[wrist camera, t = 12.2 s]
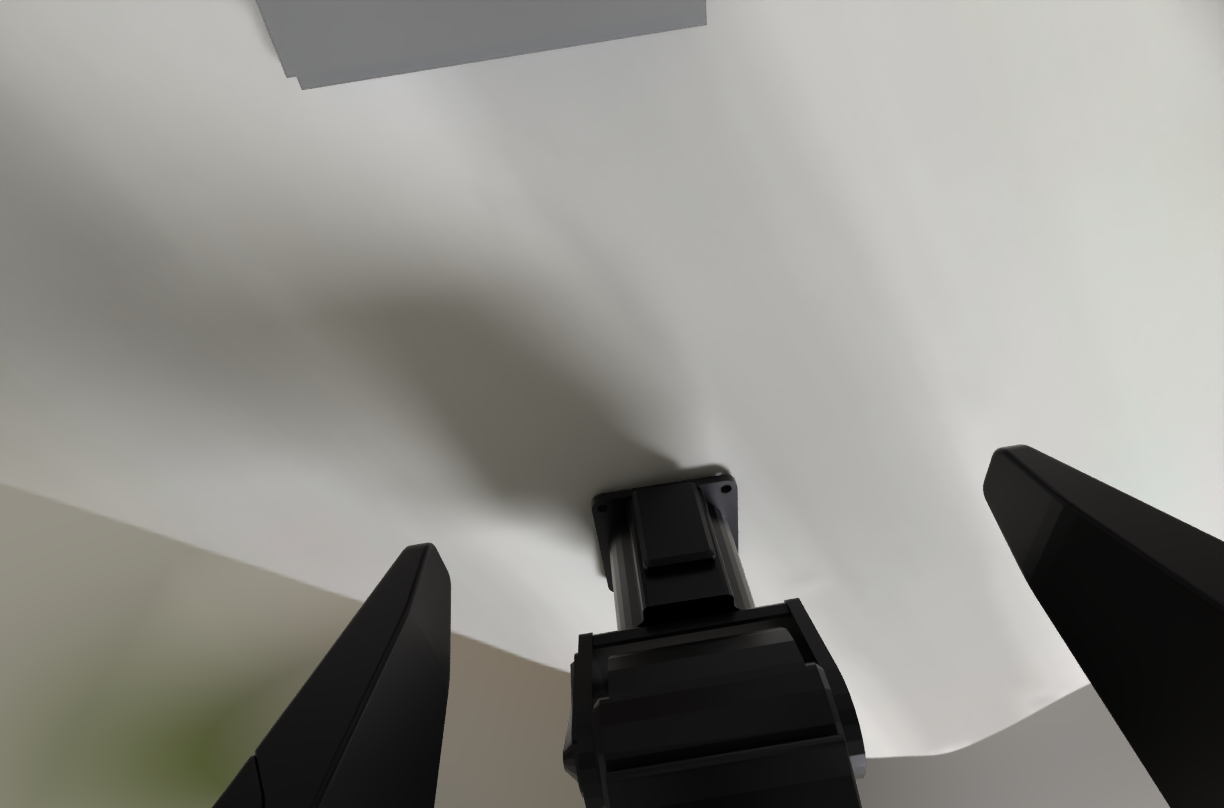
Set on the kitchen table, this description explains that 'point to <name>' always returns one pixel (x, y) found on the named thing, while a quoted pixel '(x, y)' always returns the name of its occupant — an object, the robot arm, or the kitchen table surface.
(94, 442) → the kitchen table surface
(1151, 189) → the kitchen table surface
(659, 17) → the square gray tray
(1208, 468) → the kitchen table surface
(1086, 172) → the kitchen table surface
